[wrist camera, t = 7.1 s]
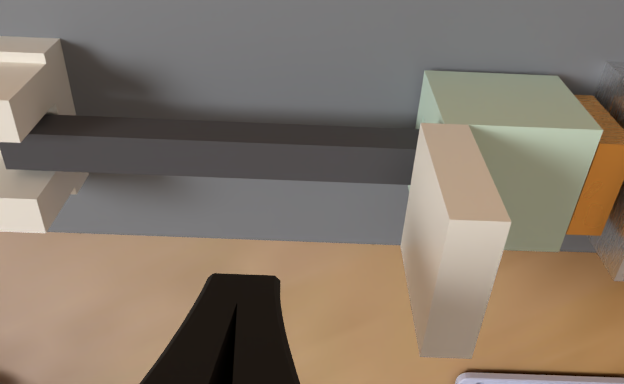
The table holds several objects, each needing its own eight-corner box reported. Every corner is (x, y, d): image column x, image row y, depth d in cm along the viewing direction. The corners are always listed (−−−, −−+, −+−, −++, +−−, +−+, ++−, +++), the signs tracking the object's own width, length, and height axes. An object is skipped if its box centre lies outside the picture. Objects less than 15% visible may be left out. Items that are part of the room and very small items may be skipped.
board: (775, -31, 17) (907, 20, 13) (648, 238, 22) (715, 328, 19) (-59, -68, 17) (-172, -26, 13) (25, 214, 22) (-36, 301, 18)
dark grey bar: (688, 139, 17) (710, 161, 16) (672, 173, 18) (693, 196, 17) (13, 113, 17) (-6, 132, 16) (23, 148, 18) (6, 169, 17)
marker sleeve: (557, 75, 17) (686, 229, 11) (525, 186, 20) (617, 364, 14) (404, 69, 17) (449, 219, 11) (389, 181, 20) (420, 357, 13)
